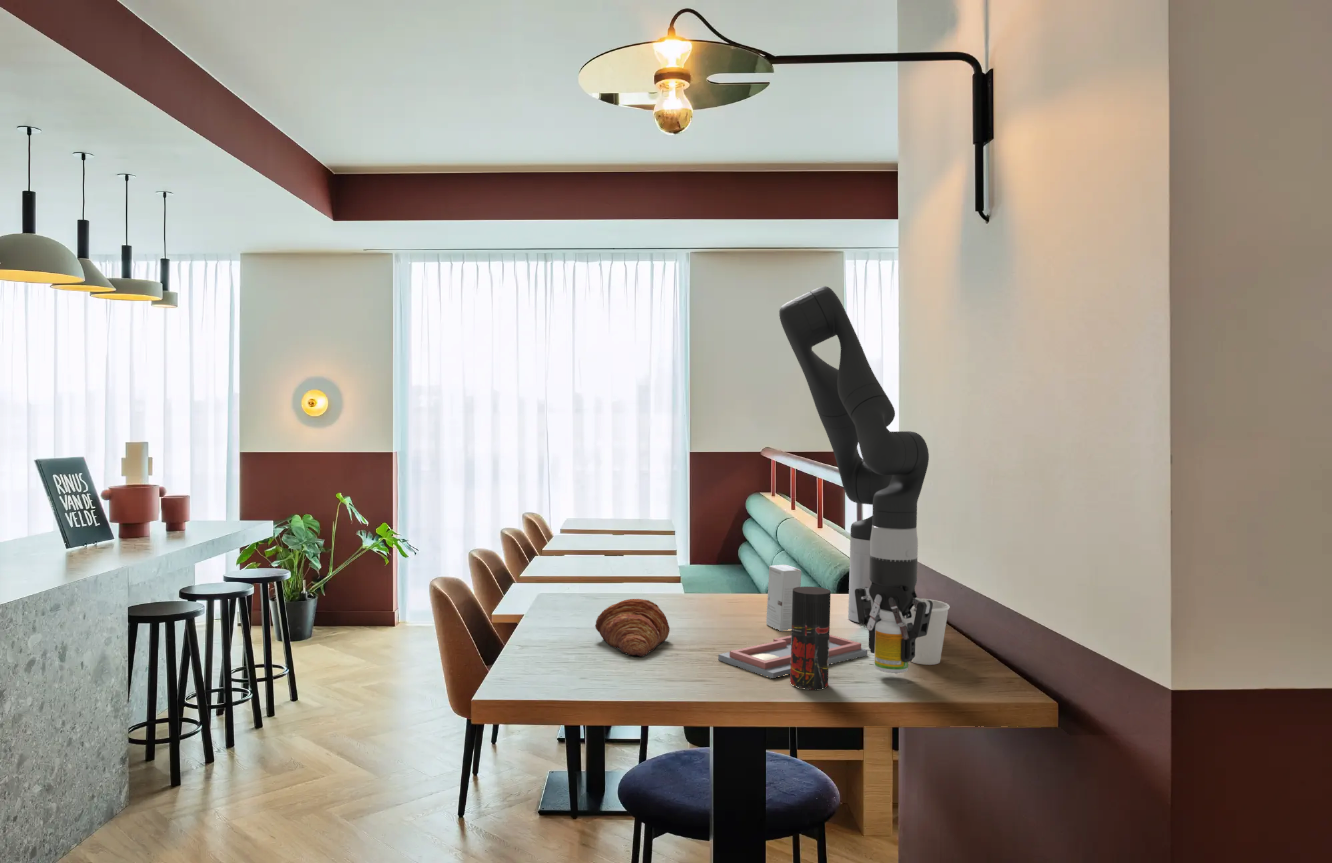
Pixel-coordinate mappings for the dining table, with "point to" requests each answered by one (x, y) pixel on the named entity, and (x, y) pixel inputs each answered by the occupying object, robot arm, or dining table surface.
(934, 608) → the dixie cup
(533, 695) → the dining table surface
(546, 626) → the dining table surface
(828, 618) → the deodorant
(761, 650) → the pink-rimmed grey tray
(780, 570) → the skincare box
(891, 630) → the supplement bottle
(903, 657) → the robot arm
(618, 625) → the pastry
